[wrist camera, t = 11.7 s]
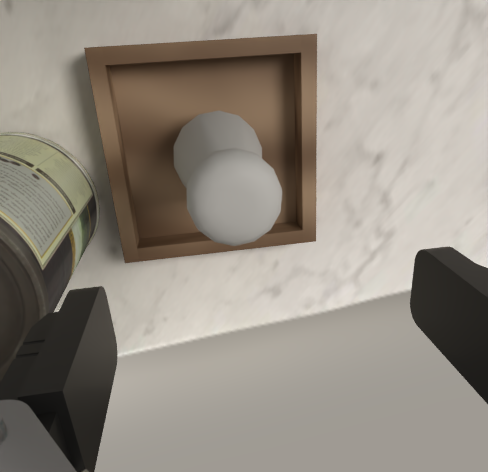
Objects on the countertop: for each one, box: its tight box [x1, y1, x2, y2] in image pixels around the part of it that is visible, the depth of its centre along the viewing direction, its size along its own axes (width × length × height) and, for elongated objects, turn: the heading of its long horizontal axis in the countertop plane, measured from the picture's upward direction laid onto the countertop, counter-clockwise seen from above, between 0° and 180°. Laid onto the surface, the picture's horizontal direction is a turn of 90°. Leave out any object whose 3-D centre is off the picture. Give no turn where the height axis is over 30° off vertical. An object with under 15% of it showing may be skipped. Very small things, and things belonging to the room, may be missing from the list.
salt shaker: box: [174, 111, 282, 246], centre depth 24 cm, size 6×6×13 cm
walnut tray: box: [85, 34, 317, 263], centre depth 29 cm, size 14×14×2 cm
